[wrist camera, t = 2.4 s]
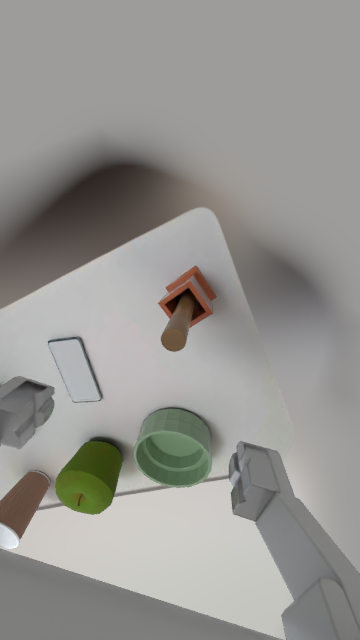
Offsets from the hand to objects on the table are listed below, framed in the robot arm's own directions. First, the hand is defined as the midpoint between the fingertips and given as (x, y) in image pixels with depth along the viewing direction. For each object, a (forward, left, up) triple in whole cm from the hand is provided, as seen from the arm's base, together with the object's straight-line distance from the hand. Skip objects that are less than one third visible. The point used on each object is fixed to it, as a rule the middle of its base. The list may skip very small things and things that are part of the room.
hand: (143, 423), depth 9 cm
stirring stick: (0, 0, -26) cm, 26 cm away
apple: (-20, +40, -27) cm, 52 cm away
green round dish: (-24, +21, -26) cm, 41 cm away
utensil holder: (0, 0, -26) cm, 26 cm away
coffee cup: (-19, +66, -27) cm, 74 cm away
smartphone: (0, +29, -26) cm, 39 cm away
